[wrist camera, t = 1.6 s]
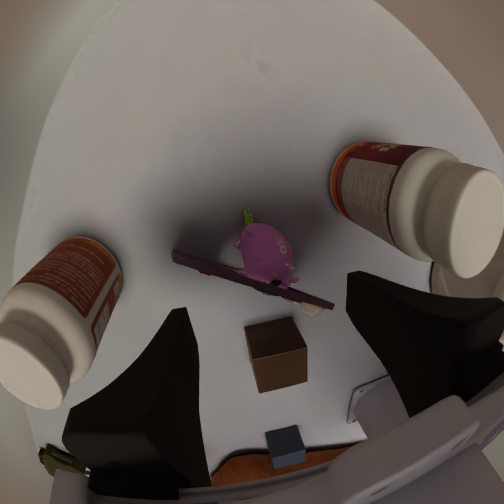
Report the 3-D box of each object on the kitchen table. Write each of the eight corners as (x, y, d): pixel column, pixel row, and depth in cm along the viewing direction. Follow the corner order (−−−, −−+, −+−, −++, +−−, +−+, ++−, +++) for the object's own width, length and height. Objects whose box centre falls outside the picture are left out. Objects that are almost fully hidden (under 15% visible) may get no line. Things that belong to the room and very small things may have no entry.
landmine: (32, 449, 22) (122, 490, 26) (38, 437, 25) (125, 477, 28) (40, 472, 26) (112, 504, 29) (44, 462, 28) (114, 493, 32)
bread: (230, 447, 29) (251, 551, 15) (376, 438, 36) (412, 502, 22) (204, 481, 33) (215, 559, 19) (334, 474, 40) (359, 531, 26)
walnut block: (291, 316, 23) (307, 346, 19) (293, 350, 24) (307, 381, 20) (244, 326, 22) (252, 359, 18) (250, 360, 24) (259, 393, 20)
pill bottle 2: (396, 146, 19) (517, 168, 8) (388, 221, 21) (495, 280, 11) (328, 136, 18) (455, 143, 7) (322, 221, 20) (427, 298, 10)
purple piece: (168, 277, 12) (330, 323, 15) (205, 170, 13) (357, 235, 15) (167, 264, 19) (282, 299, 21) (192, 193, 19) (303, 235, 22)
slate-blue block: (296, 425, 29) (305, 449, 26) (296, 438, 31) (305, 461, 27) (265, 432, 29) (271, 458, 25) (267, 445, 30) (274, 469, 27)
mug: (468, 298, 27) (519, 338, 18) (416, 308, 25) (476, 364, 16) (496, 196, 23) (559, 221, 14) (448, 180, 21) (533, 209, 12)
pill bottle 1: (42, 248, 17) (-45, 330, 7) (104, 222, 17) (19, 309, 7) (75, 315, 19) (23, 418, 9) (136, 298, 20) (102, 419, 9)
